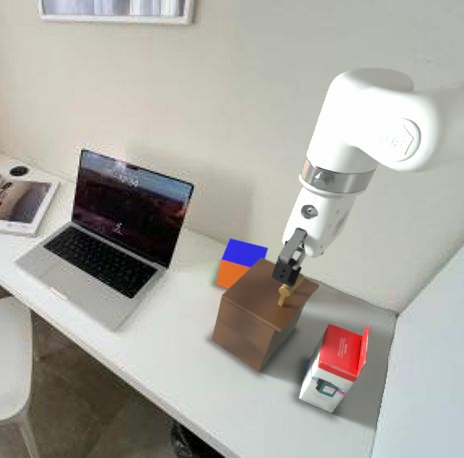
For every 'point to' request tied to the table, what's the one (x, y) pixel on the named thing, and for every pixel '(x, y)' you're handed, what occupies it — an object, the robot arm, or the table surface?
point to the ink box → (334, 367)
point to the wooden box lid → (269, 295)
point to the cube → (238, 261)
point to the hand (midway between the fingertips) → (297, 265)
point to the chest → (248, 335)
